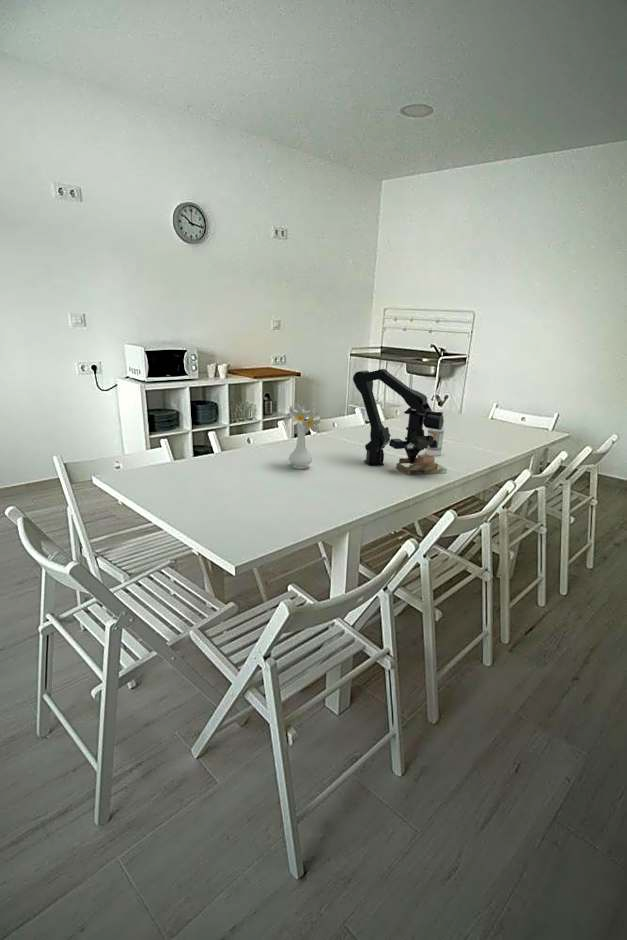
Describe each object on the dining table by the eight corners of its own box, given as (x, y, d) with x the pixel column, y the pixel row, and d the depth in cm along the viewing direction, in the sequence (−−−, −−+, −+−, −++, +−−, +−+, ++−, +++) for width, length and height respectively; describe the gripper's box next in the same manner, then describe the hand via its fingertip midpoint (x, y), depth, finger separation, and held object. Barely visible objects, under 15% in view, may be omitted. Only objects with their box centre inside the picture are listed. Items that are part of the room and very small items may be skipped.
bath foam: (422, 452, 225) (427, 410, 219) (433, 451, 228) (439, 409, 222) (431, 456, 219) (437, 413, 213) (443, 455, 222) (449, 412, 216)
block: (422, 467, 195) (423, 458, 193) (416, 464, 199) (417, 454, 198) (433, 467, 196) (434, 457, 195) (427, 463, 201) (428, 454, 199)
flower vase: (300, 476, 184) (302, 411, 176) (276, 463, 198) (277, 402, 190) (328, 471, 190) (331, 408, 183) (303, 459, 205) (305, 400, 197)
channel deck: (407, 475, 191) (408, 465, 190) (396, 467, 200) (397, 458, 199) (446, 473, 196) (447, 463, 195) (433, 465, 205) (434, 456, 204)
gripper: (403, 431, 181) (399, 470, 185) (447, 430, 186) (442, 468, 191) (390, 424, 191) (386, 462, 196) (432, 423, 196) (427, 460, 201)
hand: (411, 463), depth 195 cm, fingers closed
